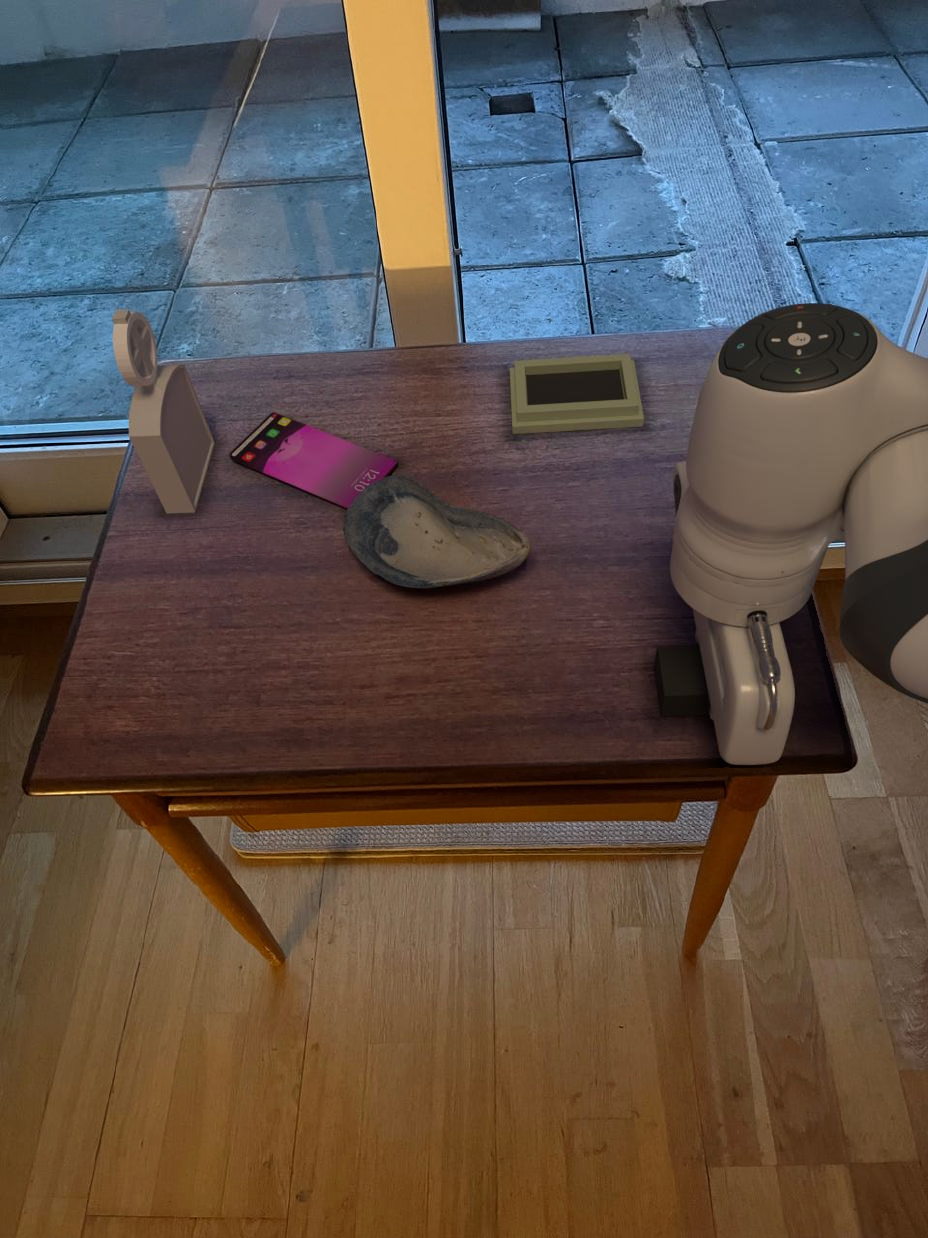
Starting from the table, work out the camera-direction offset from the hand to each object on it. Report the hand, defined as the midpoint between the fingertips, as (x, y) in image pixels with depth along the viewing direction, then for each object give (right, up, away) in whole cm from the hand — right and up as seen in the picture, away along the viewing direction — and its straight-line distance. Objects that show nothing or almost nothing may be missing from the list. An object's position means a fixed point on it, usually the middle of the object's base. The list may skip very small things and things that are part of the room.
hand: (713, 677), depth 68 cm
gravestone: (-44, +18, +20) cm, 52 cm away
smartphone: (-33, +19, +20) cm, 43 cm away
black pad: (0, -1, +1) cm, 2 cm away
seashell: (-21, +10, +12) cm, 26 cm away
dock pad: (-8, +26, +22) cm, 35 cm away
